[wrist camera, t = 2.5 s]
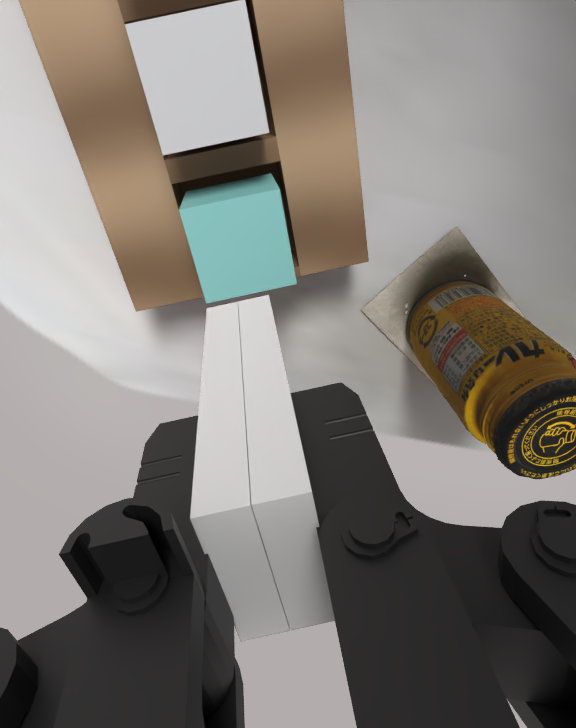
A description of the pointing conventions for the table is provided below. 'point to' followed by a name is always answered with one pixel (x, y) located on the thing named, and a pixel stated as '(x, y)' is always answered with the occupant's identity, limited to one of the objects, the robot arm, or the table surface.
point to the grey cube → (200, 76)
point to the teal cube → (238, 237)
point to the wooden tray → (214, 162)
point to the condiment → (484, 357)
